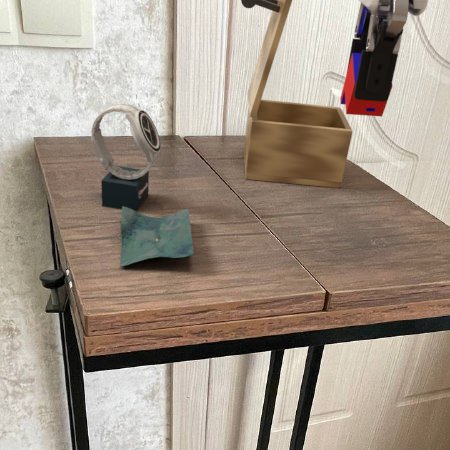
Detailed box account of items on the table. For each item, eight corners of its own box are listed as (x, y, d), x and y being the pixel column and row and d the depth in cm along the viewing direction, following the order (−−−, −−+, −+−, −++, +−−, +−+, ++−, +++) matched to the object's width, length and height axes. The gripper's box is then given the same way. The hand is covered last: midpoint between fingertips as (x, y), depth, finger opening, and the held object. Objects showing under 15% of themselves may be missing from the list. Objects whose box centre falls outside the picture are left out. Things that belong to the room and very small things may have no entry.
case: (330, 160, 98) (340, 107, 93) (340, 188, 89) (352, 131, 84) (243, 152, 97) (249, 98, 92) (245, 179, 88) (251, 121, 83)
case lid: (286, -17, 83) (245, -32, 82) (294, -5, 74) (247, -22, 73) (252, 95, 92) (214, 83, 91) (255, 118, 83) (213, 104, 82)
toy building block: (342, 128, 63) (362, 56, 56) (340, 98, 65) (359, 24, 58) (377, 130, 63) (401, 59, 56) (374, 100, 65) (397, 27, 58)
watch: (152, 213, 76) (154, 118, 69) (88, 203, 77) (83, 108, 70) (163, 197, 80) (166, 105, 73) (102, 187, 81) (99, 96, 74)
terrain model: (193, 270, 66) (194, 253, 64) (118, 270, 65) (117, 253, 64) (188, 219, 75) (188, 204, 74) (122, 219, 75) (121, 204, 73)
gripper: (497, -160, 43) (424, 121, 55) (434, -150, 56) (386, 74, 68) (389, -170, 43) (339, 114, 54) (351, -158, 56) (317, 69, 67)
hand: (365, 90), depth 61 cm, fingers closed on toy building block, 4 cm apart
